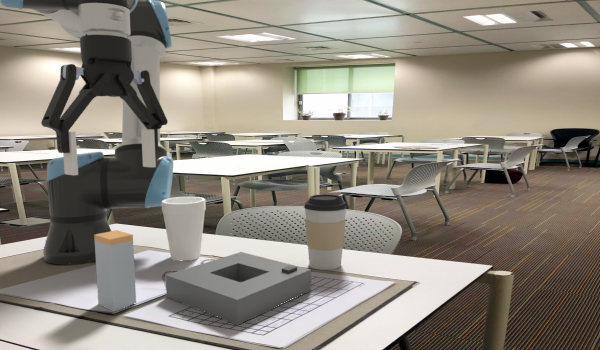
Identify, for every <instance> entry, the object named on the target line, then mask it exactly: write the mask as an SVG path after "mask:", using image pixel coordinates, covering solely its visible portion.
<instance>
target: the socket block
mask: <svg viewBox="0 0 600 350" xmlns="http://www.w3.org/2000/svg"><path fill="white" fill-rule="evenodd" d="M165 287H166V292H165V293H166V298H168V299H170V300H173V301H175V302H178V303H180V302H181V304H183V303H184V304H183V305H185V304H186V306H188V305H189V307H190V306H191V308H193V309H195V308H196V310H198V309H199V311H201V310H202V311H201V312H203V311H205V312H204V313H206V312H207V313H206V314H208V313H210V314H209V315H211V314H213V315H215V316H214V317H216V316H218V317H221V318H223V319H225V320H224V321H226V320H227V321H226V322H228V321H229V323H231V322H232V324H233V323H234V324H233V325H236V326H240V325H241V324H244V323H246V322H248V321H250V320H253V319H254V318H253V317H255V316H257V317H259V316H261V315H262V313H263V314H265V313H267V312H269V311H271V310H270V309H272V308H274V307H276V306H278V305H280V304H281V303H284V302H286V301H288V300H290V299H292V298H295V297H297V296H299V295H301V294H303V295H305V294H304V293H306V294H307V292H308V293H310V292H312V269H310V268H306V267H303V266H298V265H294V264H290V263H286V262H283V261H279V260H275V259H270V258H267V257H264V256H263V257H262V256H259V255H255V254H251V253H248V252H242V251H240V252H237V253H233V254H229V255H227V256H223V257H219V258H216V259H214V260H210V261H207V262H204V263H201V264H198V265H195V266H194V265H193V266H190V267H187V268H184V269H181V270H178V271H174V272H170V273H168V274H165ZM309 291H310V292H309ZM301 296H302V295H301ZM299 297H300V296H299ZM297 298H298V297H297ZM295 299H296V298H295ZM286 303H287V302H286ZM284 304H285V303H284ZM280 306H281V305H280ZM278 307H279V306H278ZM276 308H277V307H276ZM274 309H275V308H274ZM272 310H273V309H272ZM264 312H265V313H264ZM260 314H261V315H260ZM213 315H212V316H213ZM258 315H259V316H258ZM218 317H217V318H218ZM221 318H220V319H221ZM255 318H256V317H255ZM223 319H222V320H223ZM249 319H250V320H249ZM247 320H248V321H247ZM245 321H246V322H245ZM243 322H244V323H243ZM239 324H240V325H239Z"/></svg>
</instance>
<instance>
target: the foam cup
mask: <svg viewBox="0 0 600 350" xmlns="http://www.w3.org/2000/svg"><path fill="white" fill-rule="evenodd" d="M206 209H207V208H206V199H205V198H204V197H200V196H177V197H176V196H175V197H169V199H164V200H162V206H161V212H162V214H163V220H164V224H165V225H164V226H165V231H166V237H167V242H168V248H169V254H170V258H171V260H172V259H174V260H173V261H175V260H190V261H193V260H192V259H195V260H196V258H197V259H199V258H200V257H201V250H202V242H203V241H202V240H203V231H204V221H205V212H206Z"/></svg>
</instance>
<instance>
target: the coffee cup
mask: <svg viewBox="0 0 600 350" xmlns="http://www.w3.org/2000/svg"><path fill="white" fill-rule="evenodd" d="M304 203H305V204H304V206H303V208H304V212H305V213H304V214H305V215H304V216H305V218H304V222H305V224H304V225H305V235H306V246H307V249H308V250H307V252H308V253H307V254H308V261H309V262H308V263H309V264H308V265H309V267H311V268H312V269H315V270H321V271H322V270H323V271H330V270H336V269H339V268H340V267H342V258H343V248H344V240H345V231H346V221H347V220H346V211H347V207H348V206H347V205H346V201H345V200H344V199H343V197H342V195H337V194H327V193H326V194H325V193H324V194H323V193H322V194H315V195H314V194H313V195H311V196H309V197H308V200H306V201H305V202H304Z"/></svg>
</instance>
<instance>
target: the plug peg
mask: <svg viewBox="0 0 600 350" xmlns="http://www.w3.org/2000/svg"><path fill="white" fill-rule="evenodd" d="M94 239H95V255H96V261H95V268H96V282H97V283H96V287H97V302H98V304H97V305H100V306H102V307H104V308H105V307H106V308H105V309H108V310H110V311H112V312H114V311H115V312H117V311H120V310H122V308H123V309H125V308H124V307H126V308H128V307H127V306H129V307H131V306H130V305H132V304H134V303H136V304H137V292H136V274H135V272H136V271H135V255H134V254H135V253H134V235H133V234H131V233H129V232H125V231H121V230H116V229H115V230H111V231H110V232H105V233H100V234H95V235H94ZM132 306H133V305H132Z"/></svg>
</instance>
